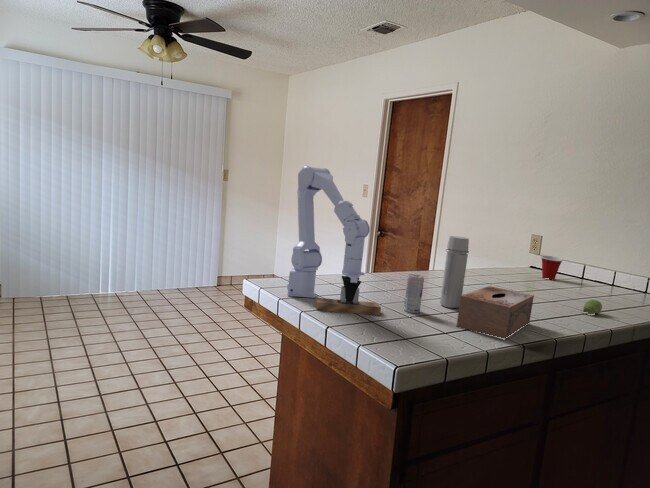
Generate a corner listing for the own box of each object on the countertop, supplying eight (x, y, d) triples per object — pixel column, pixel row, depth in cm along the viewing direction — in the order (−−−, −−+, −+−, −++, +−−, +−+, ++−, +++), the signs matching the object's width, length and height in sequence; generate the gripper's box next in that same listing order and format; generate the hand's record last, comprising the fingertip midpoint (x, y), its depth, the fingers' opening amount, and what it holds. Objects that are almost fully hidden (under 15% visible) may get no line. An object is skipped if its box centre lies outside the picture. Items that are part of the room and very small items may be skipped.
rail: (316, 309, 140) (317, 302, 140) (316, 305, 146) (316, 297, 145) (380, 315, 142) (381, 307, 141) (377, 310, 147) (378, 302, 147)
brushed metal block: (340, 306, 142) (342, 287, 141) (339, 304, 144) (341, 286, 144) (357, 307, 142) (359, 289, 142) (356, 305, 145) (358, 287, 144)
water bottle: (445, 302, 167) (454, 235, 164) (464, 307, 162) (474, 239, 158) (432, 305, 161) (441, 236, 157) (451, 311, 155) (461, 239, 152)
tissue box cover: (504, 341, 129) (509, 307, 127) (456, 327, 137) (460, 295, 136) (529, 324, 149) (533, 295, 147) (485, 313, 158) (489, 285, 156)
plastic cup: (540, 279, 238) (544, 257, 237) (534, 275, 249) (538, 254, 247) (562, 282, 237) (566, 260, 235) (555, 278, 247) (559, 257, 246)
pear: (605, 300, 172) (596, 307, 166) (603, 313, 174) (594, 320, 167) (589, 296, 176) (579, 303, 170) (587, 309, 178) (578, 316, 171)
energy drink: (420, 310, 152) (425, 275, 150) (418, 314, 147) (423, 278, 145) (404, 307, 153) (409, 273, 152) (402, 311, 148) (406, 275, 147)
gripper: (369, 263, 134) (364, 307, 136) (362, 255, 149) (358, 295, 151) (346, 261, 134) (341, 305, 136) (341, 253, 148) (337, 293, 150)
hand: (348, 300), depth 143 cm, fingers closed on brushed metal block, 2 cm apart
